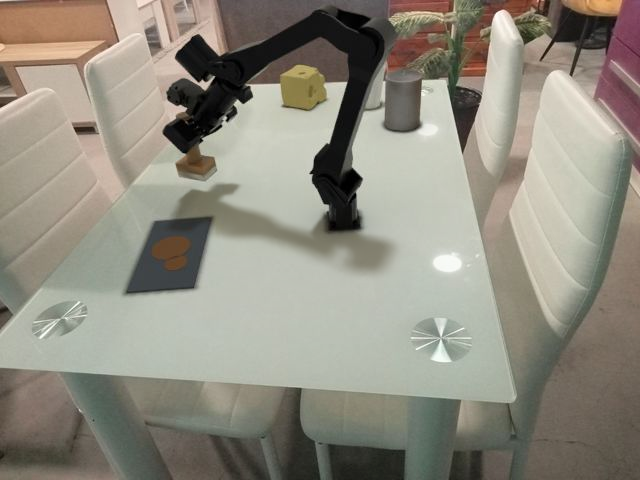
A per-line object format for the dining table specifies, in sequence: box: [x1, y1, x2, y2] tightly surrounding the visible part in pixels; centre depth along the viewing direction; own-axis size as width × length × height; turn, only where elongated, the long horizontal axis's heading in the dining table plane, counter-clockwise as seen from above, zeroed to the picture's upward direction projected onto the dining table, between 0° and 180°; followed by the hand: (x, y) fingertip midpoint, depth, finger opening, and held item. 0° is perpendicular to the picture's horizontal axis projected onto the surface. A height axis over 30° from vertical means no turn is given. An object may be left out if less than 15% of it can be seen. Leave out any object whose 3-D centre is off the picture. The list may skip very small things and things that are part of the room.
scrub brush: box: [174, 111, 218, 182], centre depth 103 cm, size 7×5×14 cm
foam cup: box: [365, 61, 387, 110], centre depth 143 cm, size 10×9×13 cm
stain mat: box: [125, 216, 212, 294], centre depth 93 cm, size 22×12×1 cm, turn 2°
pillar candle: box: [384, 68, 423, 132], centre depth 129 cm, size 10×10×15 cm
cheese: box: [279, 64, 328, 111], centre depth 149 cm, size 10×11×10 cm
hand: (185, 144), depth 103 cm, fingers closed on scrub brush, 3 cm apart
